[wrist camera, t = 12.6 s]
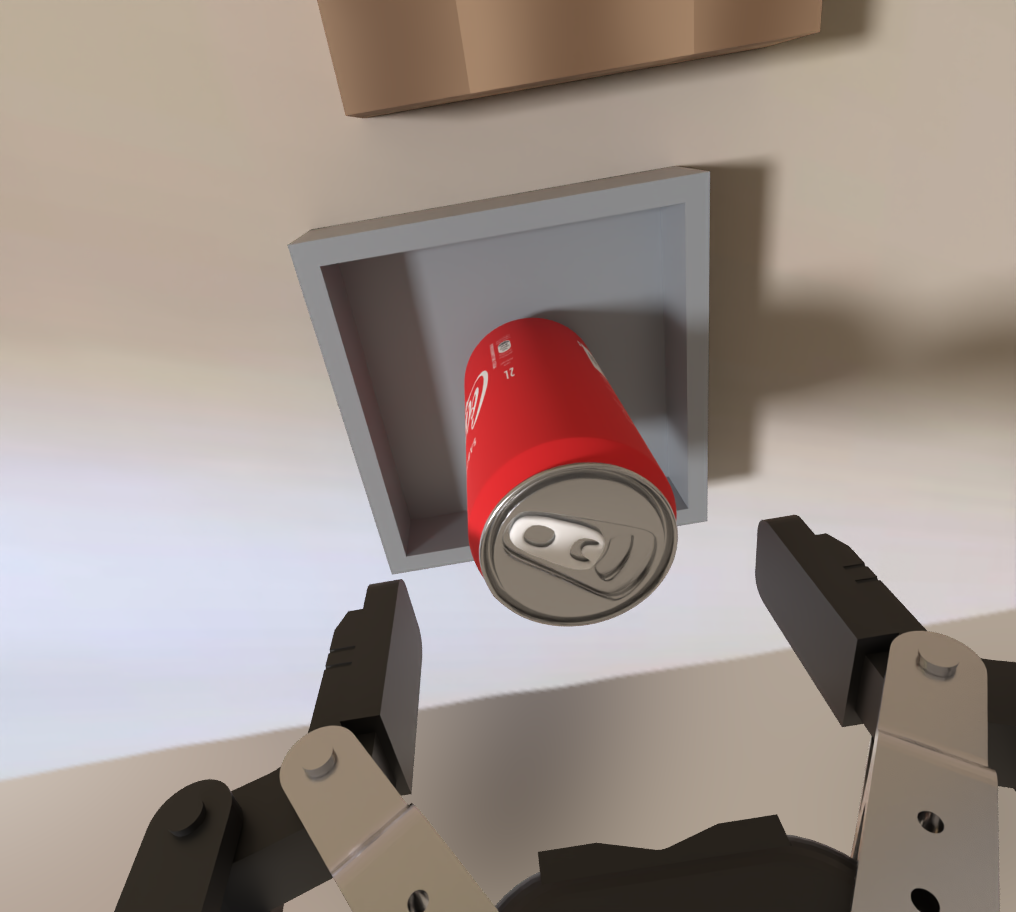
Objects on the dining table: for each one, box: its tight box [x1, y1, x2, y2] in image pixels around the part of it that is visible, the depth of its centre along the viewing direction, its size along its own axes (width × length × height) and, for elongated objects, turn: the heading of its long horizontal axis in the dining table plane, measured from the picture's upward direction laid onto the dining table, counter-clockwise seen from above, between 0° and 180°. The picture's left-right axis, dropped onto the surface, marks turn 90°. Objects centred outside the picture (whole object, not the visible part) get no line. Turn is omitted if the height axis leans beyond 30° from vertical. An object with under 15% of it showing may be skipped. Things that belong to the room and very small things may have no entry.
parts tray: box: [288, 166, 710, 575], centre depth 24 cm, size 14×14×4 cm
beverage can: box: [464, 318, 678, 626], centre depth 19 cm, size 5×5×12 cm
